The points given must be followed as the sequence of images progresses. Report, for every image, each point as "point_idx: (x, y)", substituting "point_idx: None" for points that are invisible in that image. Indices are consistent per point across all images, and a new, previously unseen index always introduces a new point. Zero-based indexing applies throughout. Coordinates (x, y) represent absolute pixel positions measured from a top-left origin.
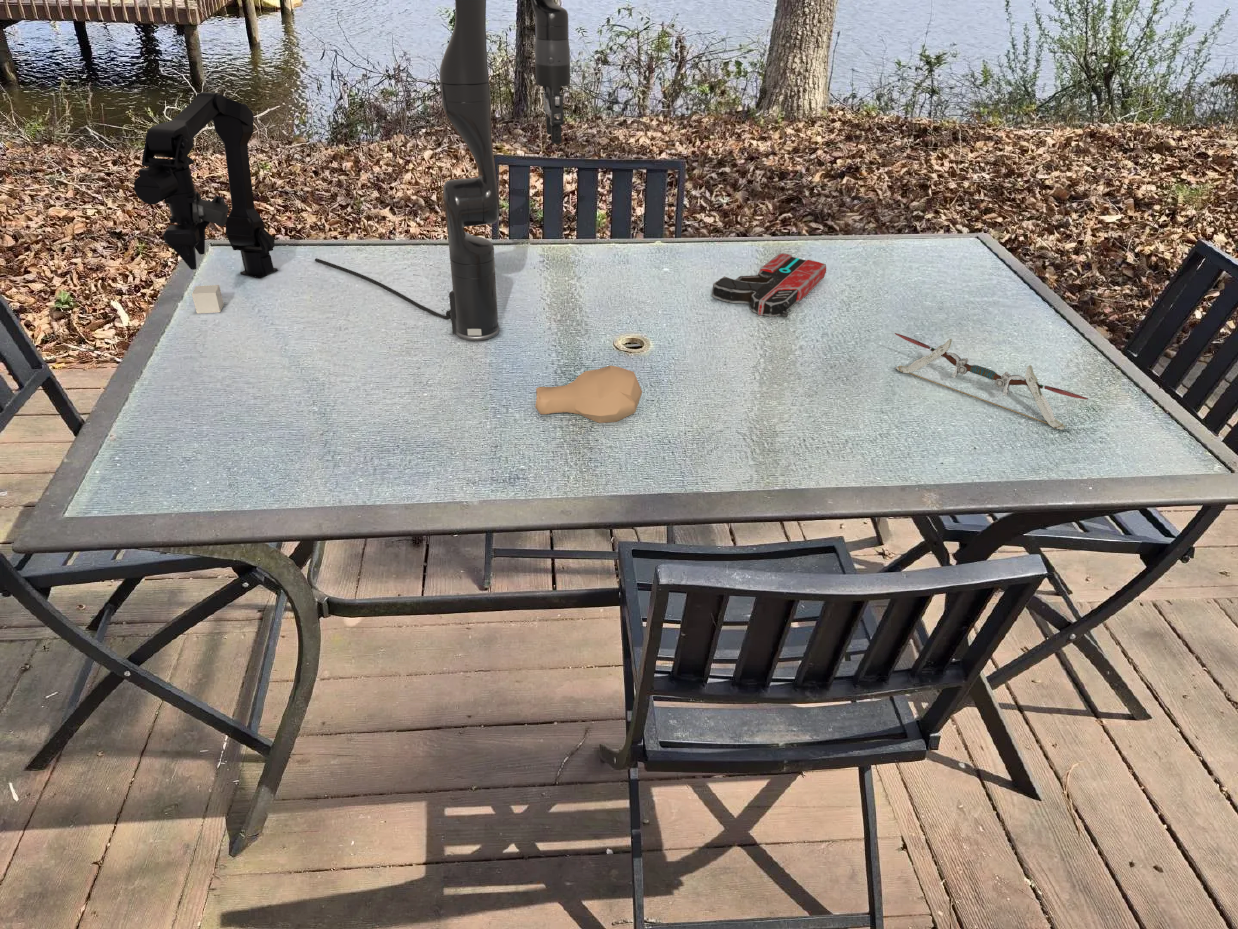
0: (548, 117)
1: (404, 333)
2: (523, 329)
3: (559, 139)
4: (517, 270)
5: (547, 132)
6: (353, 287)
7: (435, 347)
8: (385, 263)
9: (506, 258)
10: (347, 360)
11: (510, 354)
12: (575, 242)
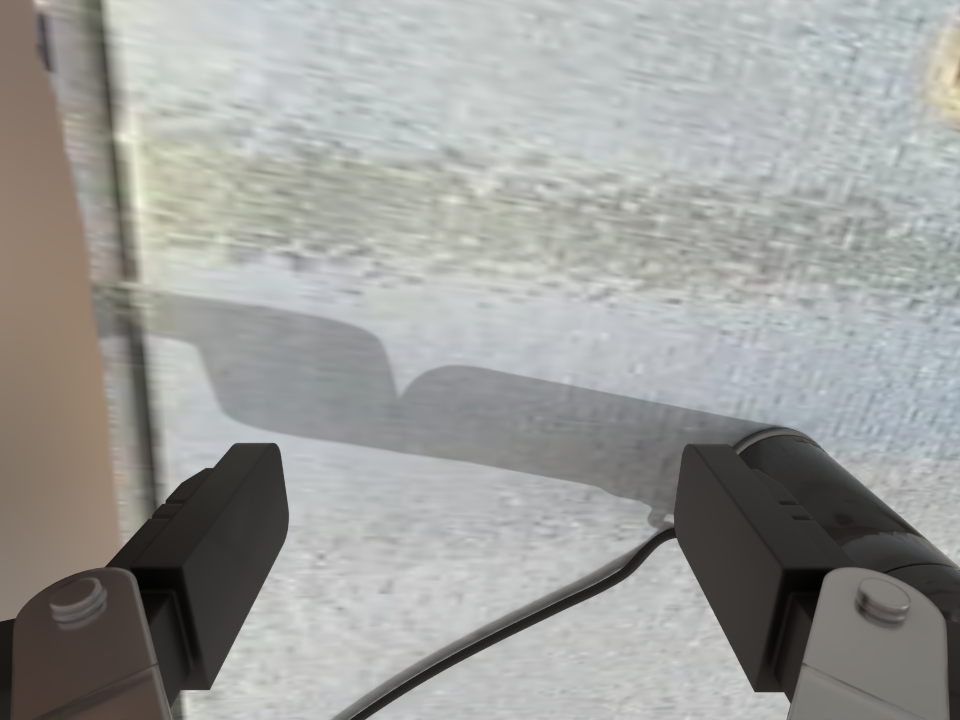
0: (191, 665)
1: None
2: (787, 369)
3: (780, 489)
4: (370, 345)
5: (283, 537)
6: (449, 697)
7: None
8: (302, 647)
9: (267, 367)
10: None
11: (915, 411)
12: (96, 111)
